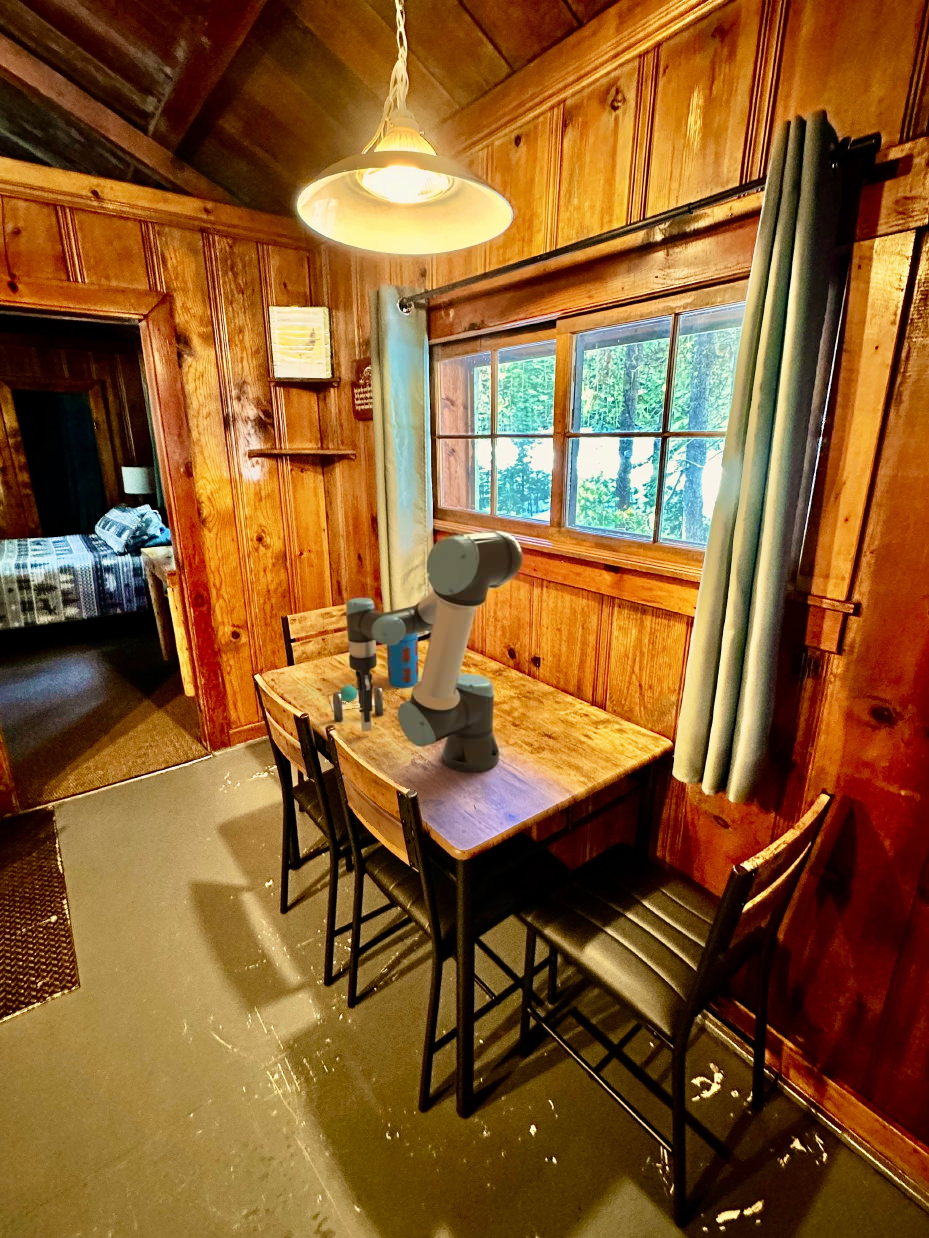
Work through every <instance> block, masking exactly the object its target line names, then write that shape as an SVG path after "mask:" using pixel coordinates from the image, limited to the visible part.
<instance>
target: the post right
mask: <svg viewBox="0 0 929 1238" xmlns="http://www.w3.org/2000/svg"><path fill="white" fill-rule="evenodd" d="M373 698H374V705H375V706H374V715H375V717H383V715H384V700H383V699H384V698H383V687H382V686H373Z"/></svg>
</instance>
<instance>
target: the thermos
mask: <svg viewBox="0 0 929 1238" xmlns="http://www.w3.org/2000/svg"><path fill="white" fill-rule="evenodd" d="M418 634H419V633H416V634H412V635H409V636H405V637H404V638H403V639H402V640H401V641H400V642H399V643H398V644H396V645H387V644H386V654H387V655H386V656H387V658H386V659H387V677H388V684H390V685H389V686H390V687H392V686H393V687H392V688H395V687H397V688H396V689H408V688H412V687H414V685H415V684H416V683H417V682H419V644H418V643H419V641H418V640H419V637H418V636H419V635H418Z"/></svg>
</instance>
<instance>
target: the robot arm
mask: <svg viewBox="0 0 929 1238" xmlns="http://www.w3.org/2000/svg"><path fill="white" fill-rule="evenodd" d="M523 559H524V557H523V551H522V548H521V545H520V544H519V541H517V540H516V539H515V537H514V536H512V535H511V534H510V533H507V532H504V531H502V530H489V531H482V532H475V533H467V534H461V533H460V534H454V535H451V536H449V537H448V536H447V537H444V538H442V539H440V540H438V541H437V542H436V543H435V544H434V545H433V546H432V548H431V550H430V551H429V553H428V556H427V560H426V573H427V574H428V577H427V579H428V582H429V584H430V585H431V587H432V592H430V593H429V594H428V595H426V596H425V597H424V598H422V599H421V600H420V601H419V602H417V603H416V604H415V605H411V606H408V607H404V608H399V609H394V610H391V611H390V610H389V611H386V612H385V611H384V612H381V611H379V610H376V609H375V608H376V606H375V604H374V603H375V602H374V601H373V599H371V598H370V597H355V598H352V599H351V598H350V599H349V600H347V602H346V607H345V608H346V613H345V617H346V618H345V619H346V629H347V640H348V642H347V643H346V644H345V646H346V647H347V648H348V653H349V655H348V661H349V662H348V663H349V668H350V669H351V670H353V671H355V677H356V684H357V690H358V697H359V704H360V708H359V709H358V712H359V713H360V723H361V724H360V725H361V732H362V733H365V732H366V733H367V732H372V731H373V729H372V726H373V725H372V712H373V706H372V696H373V689H374V684H373V683H372V680H373V674H372V673H371V670H372V669H375V668H376V667H377V665H378V664H377V663H378V662H377V659H378V658H377V642H378V643H380V644H382V645H386V646H387V645H396V644H398V643H399V642H400V641H401V640H402V639H403V638H404V637H405V636H409V635H412V634H416V633H418V634H421V633H424V632H430V636H429V641H428V646H427V651H426V655H425V659H424V664H423V669H422V673H421V679H420V680H418V682H417V683H416V684H415V685H414V686H413V688H412V691H411V695H410V699H409V700H405V701H403V702H402V703H400V705H399V707H398V710H397V718H398V723H399V726H400V727H401V731H402V732H403V734H404V735H405V738H407V739H408V741H409V742H410V743H412V744H413V745H415V746H416V747H420V748H422V747H426V746H429V745H433V744H435V743H437V742H439V741H442V740H444V739H446V740H445V743H444V746H443V749H442V760H443V763H444V764H445V765H446V766H448V767H449V768H450V769H452V770H455V771H459V772H462V773H479V772H484V771H487V770H489V769H492V768H494V767H495V766H496V765H497V764H498V762H499V761H500V760H499V759H500V750H499V746H498V744H497V740H496V737H495V734H494V732H493V731H494V702H495V701H494V698H495V694H494V684H493V682H492V680H490V679H489V678H487V677H485V676H482V675H479V674H475V673H474V674H473V673H461V670H462V666H463V663H464V658H465V655H466V650H467V646H468V641H469V639H470V634H471V630H472V627H473V622H474V618H475V614H476V610H477V608H478V607H481V606H482V605H484V604H485V602H486V599H487V595H488V592H489V589H497V588H499V587H501V586H502V585H504V584H505V583H508V582H509V581H511V580H512V579H513V578H514V577H515V576H517V575H518V573H519V571H520V570H521V568H522V565H523V561H524V560H523Z"/></svg>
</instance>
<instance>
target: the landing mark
mask: <svg viewBox="0 0 929 1238" xmlns="http://www.w3.org/2000/svg"><path fill="white" fill-rule="evenodd" d="M356 690H357V693H358V689H356ZM329 697H330V696H329ZM329 697H328V698H329ZM357 697H358V694H357ZM372 697H373V698H372V707H374V706H373V705H374V695H372ZM356 699H357V700H356ZM356 699H355V700H353V701H359V698H356ZM330 701H333V700H329V703H330V707H331V709H332V712H333V713H334V709H333V702H330ZM342 701H344V700H343V699H342ZM348 703H349V702H348ZM351 703H352V702H351ZM342 705H348V704H346V702H345V703H344V702H342ZM349 705H350V704H349ZM352 705H353V704H352ZM354 705H358V706H355V708H356V709H361V708H360V706H359V705H360V704H359V703H357V702H356V704H354ZM353 708H354V707H353ZM345 709H349V710H353V709H352V708H349V707H347V706H344V707H343V706H342V711H346V710H345Z"/></svg>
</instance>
